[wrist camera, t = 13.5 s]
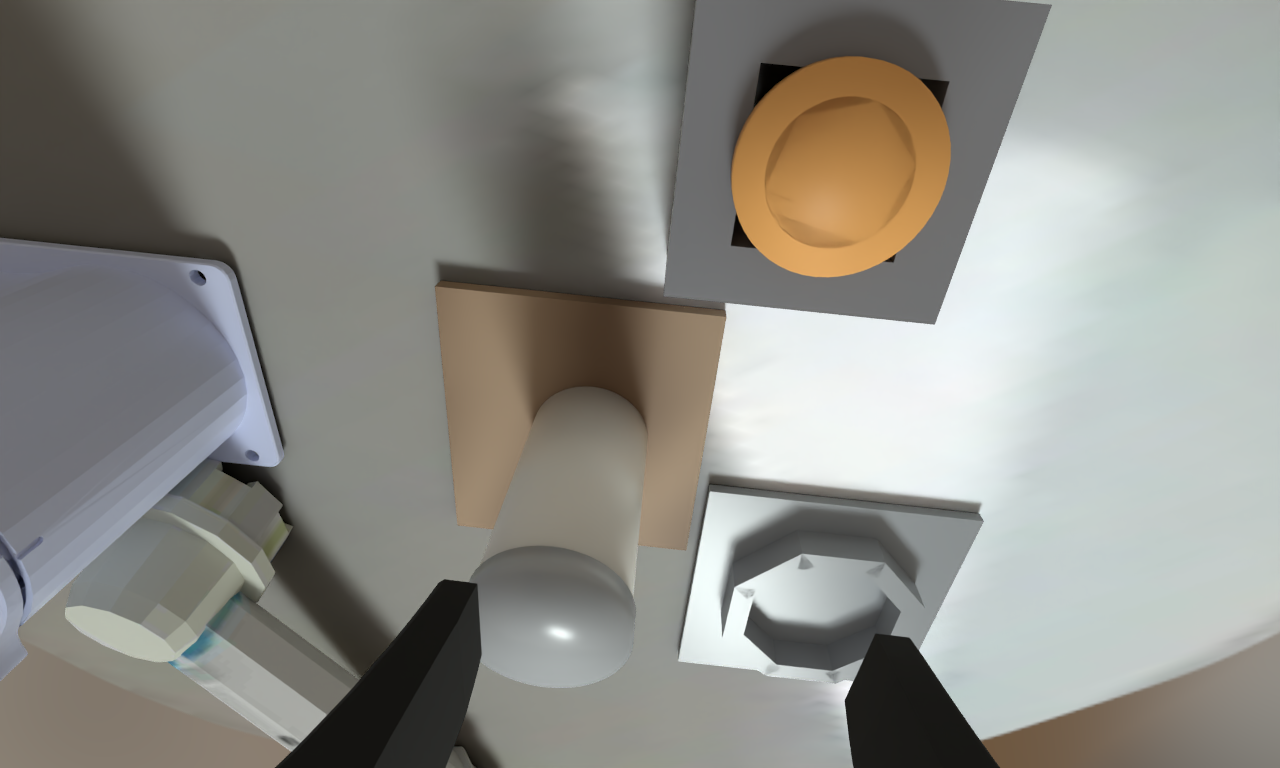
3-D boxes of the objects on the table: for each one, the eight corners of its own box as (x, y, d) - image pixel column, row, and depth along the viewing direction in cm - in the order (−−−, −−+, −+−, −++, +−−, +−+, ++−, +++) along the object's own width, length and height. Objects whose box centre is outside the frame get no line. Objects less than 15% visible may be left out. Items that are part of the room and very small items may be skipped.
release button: (712, 223, 18) (717, 266, 14) (739, 41, 15) (752, 46, 12) (872, 240, 18) (912, 286, 14) (923, 59, 15) (984, 69, 12)
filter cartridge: (530, 475, 22) (462, 678, 16) (529, 377, 20) (450, 563, 13) (644, 487, 22) (626, 696, 16) (656, 390, 20) (640, 584, 13)
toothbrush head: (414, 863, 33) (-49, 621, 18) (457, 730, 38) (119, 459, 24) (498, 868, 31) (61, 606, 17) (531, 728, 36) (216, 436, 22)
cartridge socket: (678, 653, 28) (677, 685, 26) (709, 484, 23) (710, 514, 21) (897, 678, 28) (909, 712, 26) (979, 513, 23) (997, 545, 21)
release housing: (666, 257, 18) (663, 296, 16) (697, -21, 15) (699, -29, 12) (899, 281, 18) (934, 324, 16) (988, 7, 15) (1051, 4, 12)
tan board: (461, 516, 24) (457, 525, 24) (440, 280, 19) (435, 286, 19) (686, 541, 24) (686, 550, 24) (725, 310, 19) (726, 316, 19)
